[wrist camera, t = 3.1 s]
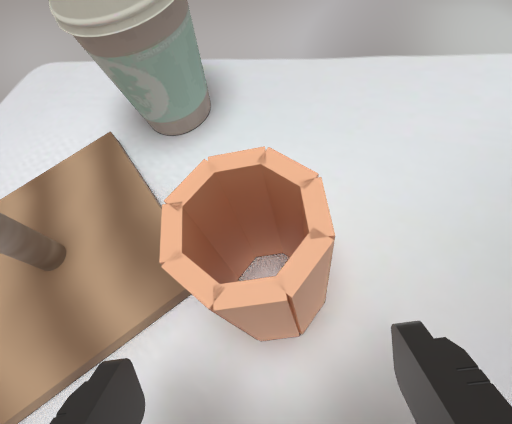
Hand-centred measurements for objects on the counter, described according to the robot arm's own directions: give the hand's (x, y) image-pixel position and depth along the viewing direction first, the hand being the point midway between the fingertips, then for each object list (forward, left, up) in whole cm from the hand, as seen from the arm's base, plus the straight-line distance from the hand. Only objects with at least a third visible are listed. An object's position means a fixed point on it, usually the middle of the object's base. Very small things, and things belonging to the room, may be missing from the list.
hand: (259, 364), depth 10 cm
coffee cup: (-5, -22, -9) cm, 25 cm away
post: (+9, -15, -9) cm, 20 cm away
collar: (-2, -4, -9) cm, 10 cm away
